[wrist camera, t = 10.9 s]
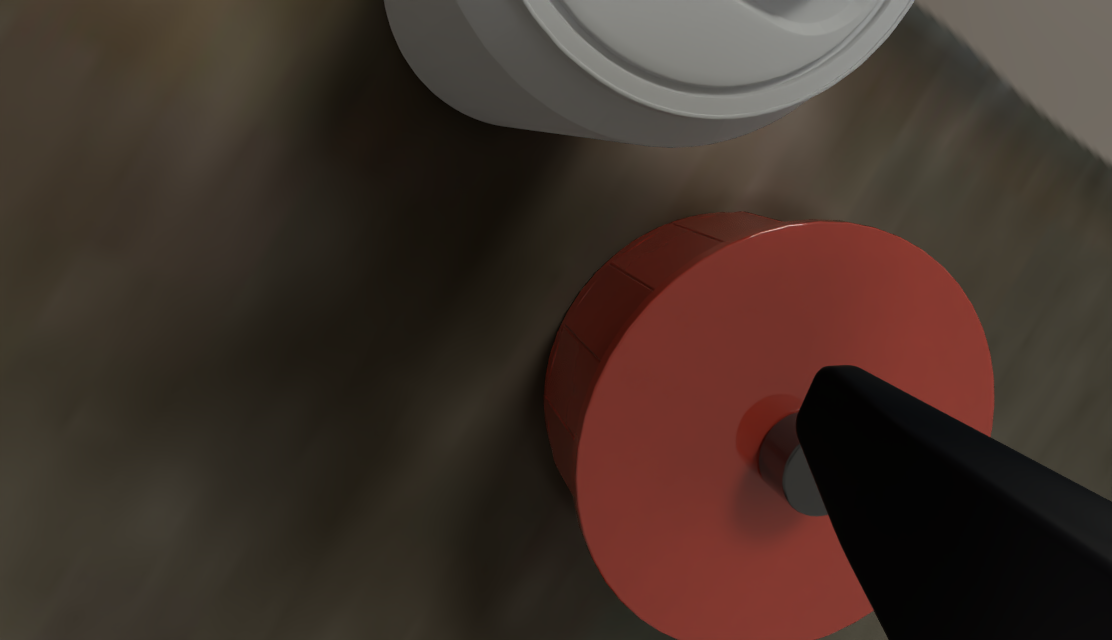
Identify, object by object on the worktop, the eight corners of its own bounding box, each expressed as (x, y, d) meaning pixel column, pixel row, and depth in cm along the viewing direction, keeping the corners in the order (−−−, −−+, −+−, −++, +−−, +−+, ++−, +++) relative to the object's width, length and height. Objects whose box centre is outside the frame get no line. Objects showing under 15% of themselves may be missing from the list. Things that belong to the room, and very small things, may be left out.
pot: (803, 556, 26) (890, 643, 22) (504, 520, 23) (538, 613, 19) (909, 255, 24) (1027, 286, 20) (598, 172, 21) (660, 188, 17)
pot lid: (883, 643, 23) (936, 696, 21) (514, 611, 19) (533, 672, 17) (1026, 270, 20) (1101, 288, 18) (638, 163, 17) (677, 171, 15)
